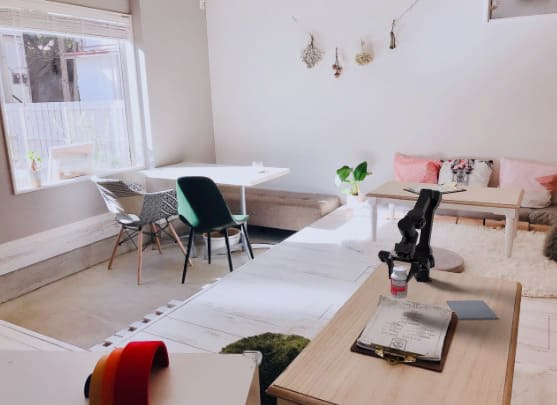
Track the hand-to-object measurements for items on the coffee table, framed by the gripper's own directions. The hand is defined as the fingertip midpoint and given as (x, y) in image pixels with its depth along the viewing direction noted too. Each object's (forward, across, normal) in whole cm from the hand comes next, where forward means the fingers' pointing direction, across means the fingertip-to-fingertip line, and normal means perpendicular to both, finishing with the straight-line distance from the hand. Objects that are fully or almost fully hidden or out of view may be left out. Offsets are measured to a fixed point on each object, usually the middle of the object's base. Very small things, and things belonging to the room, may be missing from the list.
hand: (398, 280), depth 175 cm
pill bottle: (+4, 0, +6) cm, 7 cm away
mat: (-1, +24, +18) cm, 30 cm away
